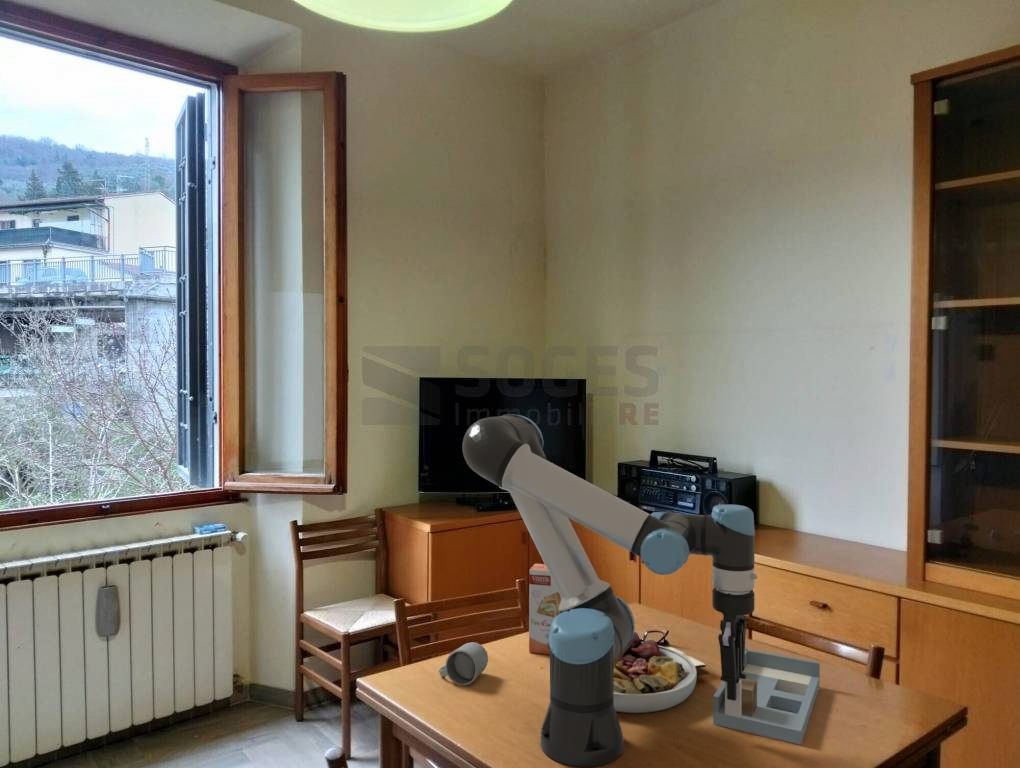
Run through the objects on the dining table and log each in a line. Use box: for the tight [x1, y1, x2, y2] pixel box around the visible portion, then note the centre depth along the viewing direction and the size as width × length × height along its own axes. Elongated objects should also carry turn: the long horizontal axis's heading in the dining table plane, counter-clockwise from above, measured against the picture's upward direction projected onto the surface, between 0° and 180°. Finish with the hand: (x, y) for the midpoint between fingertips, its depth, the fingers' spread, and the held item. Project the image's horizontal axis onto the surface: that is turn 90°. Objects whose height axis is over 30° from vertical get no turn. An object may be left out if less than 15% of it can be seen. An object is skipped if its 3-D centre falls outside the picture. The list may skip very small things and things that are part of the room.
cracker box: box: [528, 563, 561, 656], centre depth 176 cm, size 14×6×21 cm, turn 73°
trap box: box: [712, 648, 821, 746], centre depth 148 cm, size 28×16×6 cm, turn 150°
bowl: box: [614, 632, 698, 714], centre depth 157 cm, size 30×30×8 cm
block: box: [739, 678, 757, 717], centre depth 141 cm, size 5×5×5 cm
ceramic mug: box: [438, 641, 489, 687], centre depth 162 cm, size 11×8×8 cm
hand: (733, 714), depth 135 cm, fingers closed
